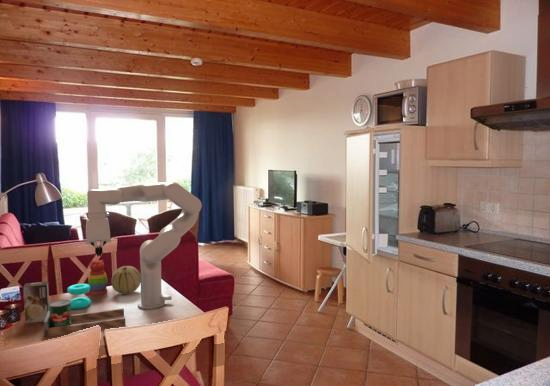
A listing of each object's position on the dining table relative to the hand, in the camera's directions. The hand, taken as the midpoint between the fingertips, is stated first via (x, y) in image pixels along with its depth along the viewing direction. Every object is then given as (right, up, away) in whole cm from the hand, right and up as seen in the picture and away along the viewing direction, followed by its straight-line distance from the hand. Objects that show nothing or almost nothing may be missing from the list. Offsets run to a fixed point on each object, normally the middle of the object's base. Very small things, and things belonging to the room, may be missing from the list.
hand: (99, 255), depth 188 cm
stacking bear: (-13, -25, +28) cm, 39 cm away
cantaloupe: (+3, -25, +28) cm, 37 cm away
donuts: (-13, -26, +8) cm, 30 cm away
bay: (+1, -27, -15) cm, 31 cm away
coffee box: (-23, -27, -9) cm, 36 cm away
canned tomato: (-8, -28, -19) cm, 34 cm away
